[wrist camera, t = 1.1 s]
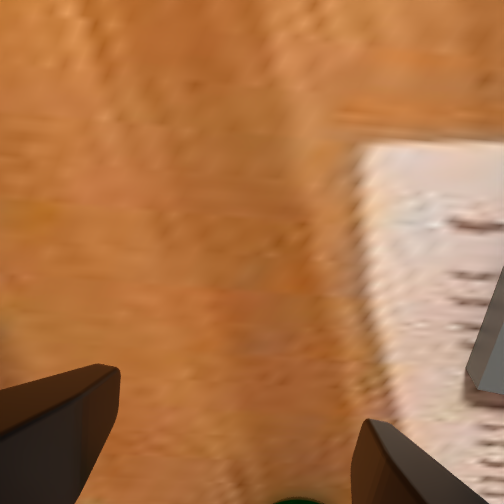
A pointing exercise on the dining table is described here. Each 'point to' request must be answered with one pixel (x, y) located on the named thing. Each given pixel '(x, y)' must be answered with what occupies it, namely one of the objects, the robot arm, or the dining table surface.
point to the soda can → (298, 501)
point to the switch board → (490, 346)
